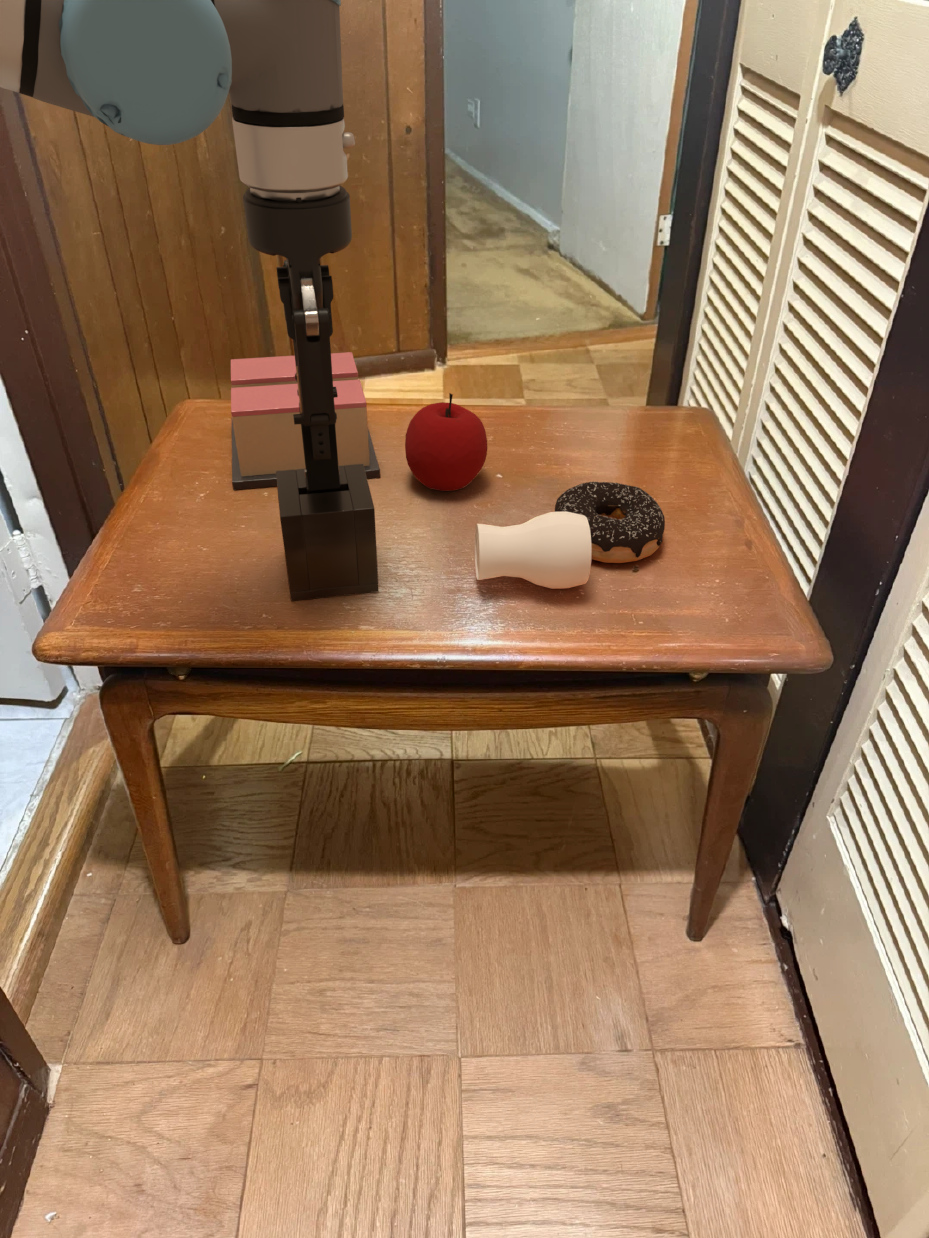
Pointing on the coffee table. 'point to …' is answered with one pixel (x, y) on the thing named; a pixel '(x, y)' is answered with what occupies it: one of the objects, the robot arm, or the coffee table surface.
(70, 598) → the coffee table surface
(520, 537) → the cream ceramic vase
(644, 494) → the donut
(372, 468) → the cake
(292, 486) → the knife block
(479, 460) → the apple
